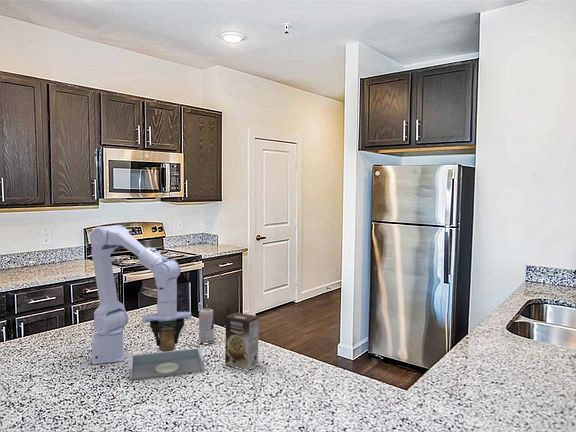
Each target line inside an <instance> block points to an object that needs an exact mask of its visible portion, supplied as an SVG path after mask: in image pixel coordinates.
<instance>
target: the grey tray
mask: <svg viewBox="0 0 576 432" xmlns="http://www.w3.org/2000/svg"><path fill="white" fill-rule="evenodd" d="M128 369H129V373H128V377H129V379H128V380H129V382H132V381H134V382H135V381H140V380H149V379H156V378H158V379H159V378H165V376H166V377H173V376H172V375H175V376H180V375H179V374H183V375H187V374H186V373H191V374H193V373H192V372H199V371H204V372H205V359H204V356H203V353H202V349H201V347H196V348H195V347H194V348H186V349H185V348H184V349H178V350H177V349H176V350H175V349H174V350H172V351H167V352H163V351H157V352H148V353H139V354H130V358H129V368H128ZM199 373H200V372H199Z"/></svg>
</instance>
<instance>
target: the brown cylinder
mask: <svg viewBox="0 0 576 432" xmlns="http://www.w3.org/2000/svg"><path fill="white" fill-rule="evenodd" d="M175 349H176V344H175V328H171V327H167V328H162V329H160V330H159V346H158V350H159V352H167V351H174V350H175Z"/></svg>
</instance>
